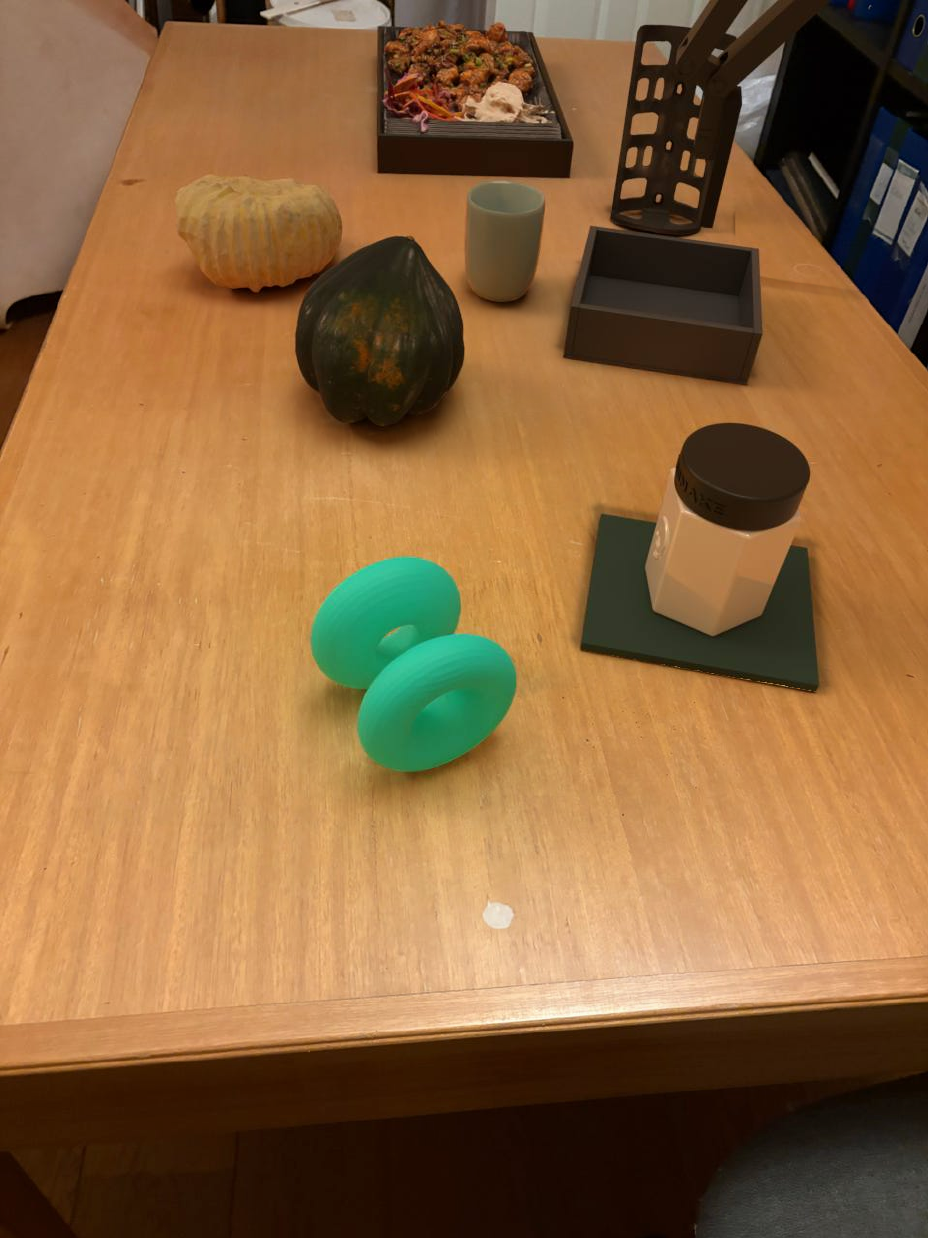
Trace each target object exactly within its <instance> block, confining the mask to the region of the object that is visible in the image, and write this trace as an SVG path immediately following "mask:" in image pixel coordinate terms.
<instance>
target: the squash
mask: <svg viewBox="0 0 928 1238" xmlns="http://www.w3.org/2000/svg"><path fill="white" fill-rule="evenodd" d="M294 334H295V335H294V337H295V338H294V340H295V341H294V344H295V345H294V352H295V357H296V361H297V366H298V368H299V371H300V374H301V376H302V377H303V379H304V381H305V382H306V384H307V385H308V386H309V387H310V388H311V389H313V390H314V391H315V392H316V393H318V394H320V398H321V400H322V404H323V405H324V407H325V409H326V411H327V413H328V414H329V415H330V416H332V417H333V418H334V419H335V420H336V421H338V422H340V423H344V424H352V423H357V422H360V421H362V420H364V419H365V418H368V419H369V420H370V421H371V422H372V423H373V424H375V425H376V426H379V427H387V426H391V425H395V424H397V423H398V422H399V421H400V420H402V419H403V418H404V416H405V415H406V414H410V415H419V414H422V413H426V412H430V410H432V409H434V408H435V406H437V404H438V403H439V402H440V400H442V398H443V397H444V395H445V394H447V393H448V392H449V391H450V390H451V389H452V387H453V386H454V384H455V383H456V381H457V380H458V377H459V376H460V373H461V371H462V369H463V366H464V361H465V354H466V353H465V352H466V351H465V349H466V347H465V340H464V322H463V317H462V312H461V309H460V306H459V302H458V300H457V298H456V296H455V294H454V292H453V290H452V289H451V287H450V285H449V284H448V283H447V282H446V280H445V279H444V278H443V276H442V275H441V273H439V271H438V270H437V269H436V267H435V266H434V265H433V264H432V262H431V261H430V260H429V258H428V256H427V255H426V253H425V251H424V249H423V247H422V246H421V245H420V244H419V243H418V242H417V241H416V239H415V237H414V236H412V235H407V236H403V235H393V236H389V237H386V238H383V239H380V240H377V241H374V242H373V243H371V244H368V245H365V246H363V247H361V248H359V249H357V250H355V251H353V252H352V253H350V254H349V255H348V256H346V257H345V258H343V259H342V260H340V261H339V262H338V263H336V264H335V265H333V266H332V267H330V268H329V269H327V270H325V272H323V273H322V274H321V275H320V276H319V277H318V278H317V279H316V280H315V281H314V282H313V283H312V284H310V286H309V288H307V291H306V292H305V295H304V296H303V299H302V302H301V305H300V307H299V311H298V315H297V320H296V328H295V333H294Z"/></svg>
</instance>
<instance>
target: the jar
mask: <svg viewBox="0 0 928 1238" xmlns="http://www.w3.org/2000/svg"><path fill="white" fill-rule="evenodd" d="M810 479H811V467H810V464H809V460H808V459H807V457H806V456H805V454H804V452H803V451H801V449H800V448H799V447H798V446H797V445H795V444H794V443H793V442H791V441H790V440H789V439H787V438H786V437H784V436H783V435H781V434H779V433H777V432H775V431H772V430H770V429H767V428H765V427H761V426H758V425H755V424H754V425H753V424H749V423H743V422H742V423H741V422H719V423H712V424H708V425H705V426H702V427H700V428H698V429H696V430H695V431H693V432H691V434H689V435H688V436H687V438H686V439H685V440H684V441H683V444H682V446H681V450H680V453H679V454H678V457H677V459H676V464H675V466H673V467H671V469H670V471H669V474H668V479H667V483H666V486H665V490H664V494H663V498H662V501H661V505H660V508H659V513H658V517H657V519H656V523H657V524H656V527H655V531H654V535H653V539H652V542H651V546H650V550H649V554H648V557H647V561H646V565H645V570H646V576H647V581H648V587H649V592H650V598H651V603H652V609H653V611H654V612H656V613H659V614H661V615H663V616H665V617H668V618H670V619H672V620H675V621H677V622H679V623H682V624H684V625H686V626H689V627H691V628H693V629H696V630H698V631H700V632H703V633H705V634H707V635H710V636H715V635H718V634H720V633H722V632H724V631H727V630H729V629H731V628H734V627H736V626H738V625H740V624H743V623H745V622H747V621H750V620H752V619H754V618H756V617H759V616H761V615H762V613H763V610H764V608H765V606H766V603H767V601H768V598H769V596H770V594H771V591H772V589H773V586H774V584H775V581H776V579H777V577H778V574H779V572H780V569H781V567H782V565H783V562H784V560H785V557H786V555H787V553H788V550H789V548H790V545H792V543H793V540H794V538H795V536H796V533H797V531H798V528H799V526H800V523H801V521H802V518H803V516H802V513H801V510H800V505H801V502H802V500H803V498H804V495H805V493H806V490H807V488H808V485H809V483H810Z"/></svg>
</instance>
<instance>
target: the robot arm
mask: <svg viewBox="0 0 928 1238" xmlns="http://www.w3.org/2000/svg"><path fill="white" fill-rule="evenodd" d="M748 1H749V0H709V1H708V2H707V4H706V5H705V7H704V8H703V10H702V11H701V13H700V14H699V15H698V17H697V19H696V20H695V22H694V23H693V25H692V26H691V27H690V28H691V30H690V31H689V33H688V34H687V36H686V37H685V39H684V40H683V42H682V43H681V45H680V46H679V48H678V51H677V56H676V69H675V71H676V75H677V76H678V77H679V79H681V80H683V81H690V82H692V83H694V84H696V85H697V87H699V88H700V90H701V91H702V94H704V95H703V100H702V105H701V110H700V114H699V119H697V125H696V130H695V134H694V138H693V140H694V152H695V158H696V159H697V160H702V161H703V160H704V161H705V160H710V164H709V168H708V173H707V177H706V181H705V186H704V190H703V195H702V199H701V204H700V214H699V227H701V228H704V229H713V228H714V224H715V220H716V215H717V211H718V207H719V202H720V200H721V199H720V198H721V194H722V191H723V186H724V182H725V178H726V173H727V169H728V165H729V161H730V157H731V152H732V149H733V144H734V140H735V136H736V132H737V127H738V124H739V119H740V115H741V111H742V108H743V107H742V106H743V90H742V88H743V87H742V86H741V85H740V84H741V83H742V82H743V81H744V80H745V79H746V78H747V77H748V76H750V75H751V74H752V73H753V72H754V71H755V70H756V69H757V68H759V66H761V65H762V64H763V63H764V62H765V61H766V60H767V59H769V57H770V56H772V55H773V54H774V53H775V52H776V51H777V50H778V49H779V48H780V47H781V46H783V45H784V44H785V43H786V42H787V41H789V39H790V38H791V37H792V36H794V35H795V34H796V33H797V32H798V31H800V29H802V27H803V26H805V25H806V24H807V23H808V22H809V21H810V20H811V19H813V18H814V17H815V15H817V14H818V13H819V12H820V11H821V10H822V9H824V8H825V7H826V6H827V5H828V4H829V3H830V2H831V1H832V0H776V1H775V2H774V3H773V4H772V5H771V6H770V7H769V8H767V9H766V11H765V12H764V13H762V14H761V15H760V16H759V17H758V18H757V19H756V20H755V21H754V22H753V23H752V24H751V25H750V26H749V27H748V28H746V29H745V30H744V31H743V32H742V33H741V34H740V35H739V36H738V37H737V39H736V40H735V41H734V42H733V43H732V44H731V45H730V46H729V47H728V48H727V49H726V50H725V51H722V52H721V53H719V55H717V56H716V55H715V54H713V52H714V51H715V48H716V46H717V45H718V43H719V42H720V40H721V39H722V38H723V36H724V35H725V33H727V32H728V30H729V29H730V27H731V26H732V25H733V23H734V22H735V20H736V19H737V17H738V16H739V14H740V13H741V11H742V10H743V9H744V7H745V6H746V4H747V3H748Z"/></svg>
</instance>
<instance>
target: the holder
mask: <svg viewBox="0 0 928 1238" xmlns="http://www.w3.org/2000/svg"><path fill="white" fill-rule="evenodd" d="M691 28H692V27H689V26H682V25H681V26H680V25H670V24H643V25H640V27H639V28H638V29H637V31H636V37H635V46H634V52H633V59H632V66H631V74H630V79H629V80H630V81H629V89H628V94H627V101H626V108H625V114H624V115H625V116H624V120H623V121H624V122H623V129H622V135H621V143H620V149H619V156H618V163H617V170H616V177H615V184H614V191H613V196H612V203H611V208H610V209H611V210H610V216H609V221H611V222H612V223H614V224H617V225H619V226H625V227H628V228H632V229H636V230H640V231H645V232H646V231H647V232H653V233H655V234H660V235H675V236H687V235H695V234H698V233H699V232H700V231H701V229H702V227H699V214H700V204H701V199H702V195H703V190H704V186H705V181H706V177H707V173H708V168H709V164H710V160H704V163H705V165H704V171H703V175H702V176H700V175H698V174H697V173H696V172H695V170H696V165H697V160H698V159H696V158H695V152H694V138H691V137H689V136H688V131H689V126H690V120H691V119H693V118H694V119H697V120H698V119H699V114H700V110H701V105H702V100H703V95H704V94H703V93H702V95H701V99H700V104H696V103H695V101H694V100H695V96H696V91H697V87H698V86H697V85H696V84H694V83H692V82H690V81H683V80H681V79H679V77H678V76H677V75H676V71H675V69H676V56H677V51H678V48H679V46H680V45H681V43H682V42H683V40H684V39H685V37H686V36H687V34H688V33H689V31H690V30H691ZM737 38H738V37H737V36H736V35H734V34H730V33H727V32H726V33H725V35H724V36H723V38H722V39H721V40H720V42H719V43H718V45H717V46H716V48H715V49H716V50H718V51H722V52H724V51H725V50H726V49H727V48H728V47H729V46H730V45H731V44H732V43H733V42H734V41H735V40H736V39H737ZM649 42H650V43H651V42H661V43H664V42H668V44H670V50H669V57H668V62H667V63H666V64H643V63H642V60H643V59H642V58H643V52H644V46H645V44H646V43H649ZM715 49H714V50H715ZM643 79H647V80H648V85H647V91H646V97H645V98H644V99H641V100H639V99H637V92H638V85H639V81H641V80H643ZM660 79H663V90H662V96H661V98H660V99H658V98H656V97H655V96H656V89H657V86H658V85H657V84H658V81H659V80H660ZM679 86H681V91H680V93H679V92H678V89H679ZM649 113H651V114H652V113H653V114H655V115H657V124H656V128H655V131H654V132H653V133H639V134H637V133H636V134H632V133H631V132H632V124H633V118H634V116H637V115H638V114H649ZM669 142H670V143H671V144H670V148H669V149H668V148H667V145H668V143H669ZM647 147H651V148H652V150H651V151H652V152H651V155H650V156H651V157H650V163H649V164H648V165H644V164H643V163H644V158H645V152H646V149H647ZM633 148H636V149H637V151H636V157H635V162H634V163H635V164H634V165H632V166H629V167H627V159H628V152H629V150H630V149H633ZM685 151H686V152H689V157H688V162H687V163H688V164H687V168H686V169H685V170H684V169H682V168H681V165H682V160H683V156H684V152H685ZM635 179H645V180H646V183H645V189H644V193H643V195H642V196H636V197H635V196H633V197H632V196H631V197H627V198H621V196H622V189H623V184H624V183H625V181H628V180H635ZM679 183H681V184H684V185H688V186H689V187H691V188H694V189H696V190H697V191H698V192H699V195H698V203H697V207H694V206H692V205H690V204H687V203H684V202H680V201H677V200H676V199H675V195H676V190H677V185H678V184H679ZM657 196H660V200H659V201H657ZM633 211H642V215H641V218H633V217H630V216H628V215H624V214H621V213H624V212H633ZM670 215H675V216H677V217H681V218H683V219H686V220H688V221H690V222H691V223H690V222H689V223H680V224H678V223H673V222H671V221H670Z"/></svg>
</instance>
